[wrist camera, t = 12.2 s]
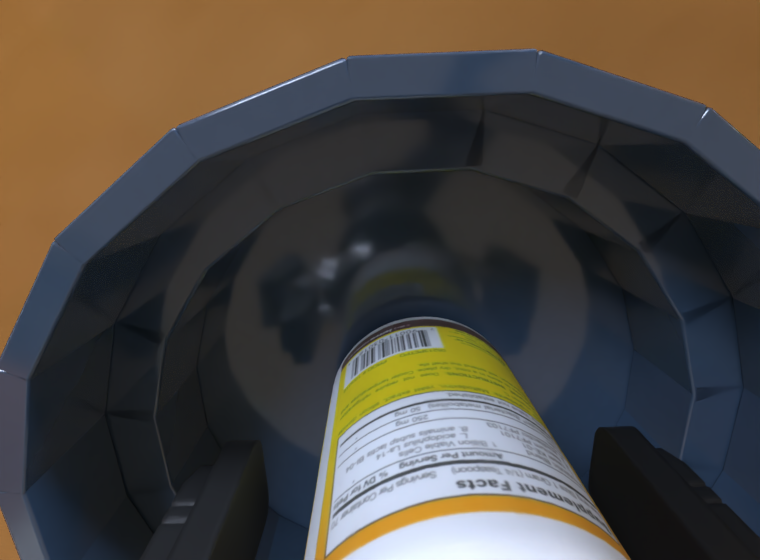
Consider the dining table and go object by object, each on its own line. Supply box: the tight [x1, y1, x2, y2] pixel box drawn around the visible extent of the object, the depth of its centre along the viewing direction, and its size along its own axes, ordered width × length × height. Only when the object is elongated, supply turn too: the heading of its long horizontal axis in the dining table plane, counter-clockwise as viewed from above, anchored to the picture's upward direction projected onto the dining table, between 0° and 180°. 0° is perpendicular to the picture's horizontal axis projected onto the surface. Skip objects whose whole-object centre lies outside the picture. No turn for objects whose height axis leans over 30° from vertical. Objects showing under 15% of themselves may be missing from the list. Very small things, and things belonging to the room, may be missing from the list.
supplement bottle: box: [304, 317, 631, 560], centre depth 9 cm, size 6×6×10 cm
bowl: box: [0, 49, 760, 560], centre depth 11 cm, size 17×17×6 cm
